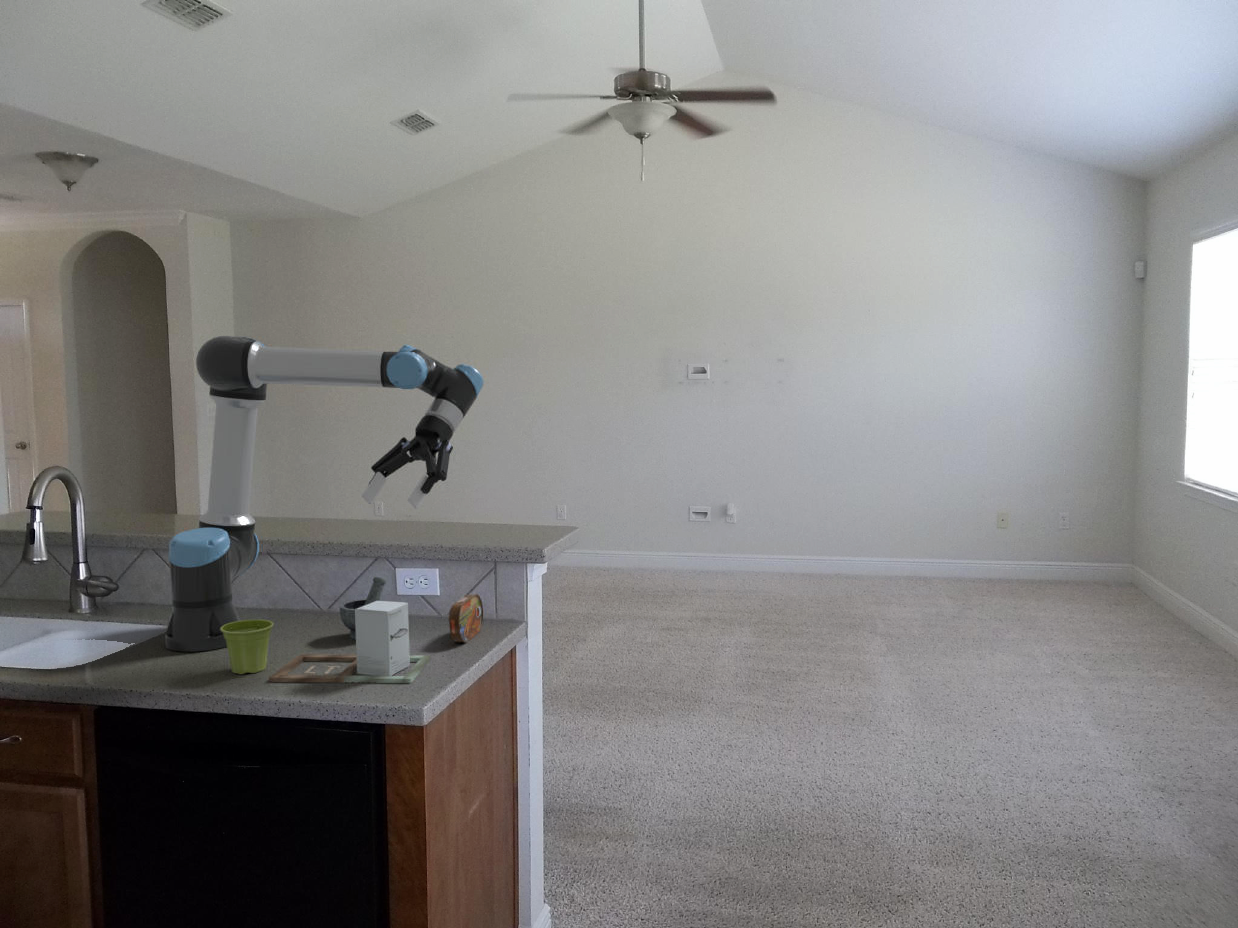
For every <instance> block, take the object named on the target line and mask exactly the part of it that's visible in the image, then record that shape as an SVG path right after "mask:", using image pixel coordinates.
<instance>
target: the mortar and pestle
mask: <svg viewBox="0 0 1238 928" xmlns="http://www.w3.org/2000/svg"><path fill="white" fill-rule="evenodd" d="M372 581H373V583H372V585H371V588H370V590H369V593H368V595H367V597H366V598H364V599H363V598H362V599H355V600H350V601H346V602H343V603H341V605H340V606H339V616H340V620H341V621H342V623H343V625H344V626H345V627H346V628H347V629H348V630H349V638H351V639H352V640H356V628H355V609H357V608H360V607H362V606H365V605H368V604H370V603H372V602H375V601H384V600H383V599H381V597H382V596H381V595H382V594H383V591H384V590H383V589H384V586H385V585H386V583H387V580H386V579H384V577H381V576H375V577H373V580H372Z"/></svg>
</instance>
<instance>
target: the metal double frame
mask: <svg viewBox="0 0 1238 928" xmlns="http://www.w3.org/2000/svg"><path fill="white" fill-rule="evenodd" d="M431 657H432V656H431V655H419V654H418V655H414V654H413V655H411V654H410V663H412V662H414V663H415V662H416V663H415V664H414V665H413V666H412V667H411V669H410V670H409V671H408V672H407V673H406V674H405V675H392V676H372V675H353V674H354V673H356V672H357V654H298V655H297V656H295V657H293V659H292V660H290V661H289V662H288V663H286V664H285V665H283V666H282V667H281V668H280V669H278V670H277V671H275V673H273V674H272V675H270V676H269V677H268V682H269V683H345V682H347V683H348V682H349V683H351V682H354V683H355V684H356V683H357V684H360V683H361V682H362V683H363V682H364V683H363V684H367V682H370V683H371V684H381V683H382V684H411V683H412V682H413V681H414V680H415V679H416V678H417V676H418V675H419V674H420V673H421V672H422V670H424V668H425V667H426V666H427V665H428V663H429V662H430V661H431V660H432V658H431ZM303 662H352V663H351V664H349V665H348V666H347V667H346V668H344V670H343V671H342V672H341V673H339V674H337V675H331V674H330V675H329V673H330V672H331V671H332V670H334V669H336V668H337V669H338V668H340V667H341V666H340V665H339V666H338V665H331V666H330V665H327V667H326V668H328V669H327V670H326V671H324V673H323V674H324V675H319V674H316V671H315V672H314V671H313V672H312V670H313V669H314V668H316V665H311V666H310V667H309V668H308V669H307V670H305V671H304V672H303V674H290V672H292V671H294V669H296V668H297V667H298V666H299V665H301V664H302V663H303ZM426 664H427V665H426ZM425 665H426V666H425ZM420 671H421V672H420ZM305 674H307V675H305ZM313 674H314V675H313ZM359 682H360V683H359ZM375 682H376V683H375ZM362 683H361V684H362ZM370 683H369V684H370Z"/></svg>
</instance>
